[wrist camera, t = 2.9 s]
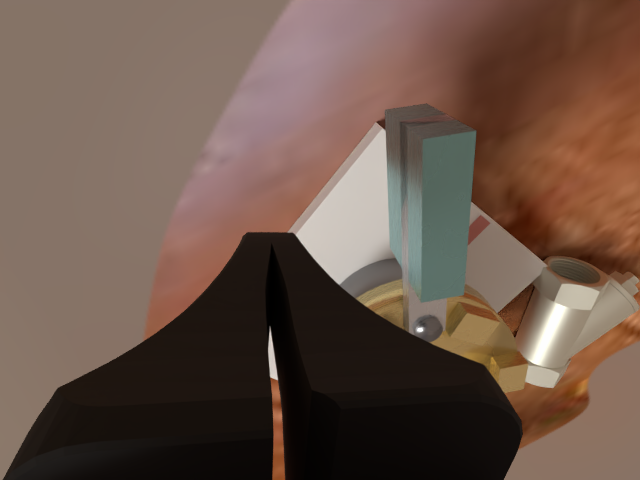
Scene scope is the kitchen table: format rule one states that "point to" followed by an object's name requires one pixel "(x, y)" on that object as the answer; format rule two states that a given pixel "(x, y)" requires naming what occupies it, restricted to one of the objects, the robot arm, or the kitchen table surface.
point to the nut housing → (373, 235)
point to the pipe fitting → (570, 314)
